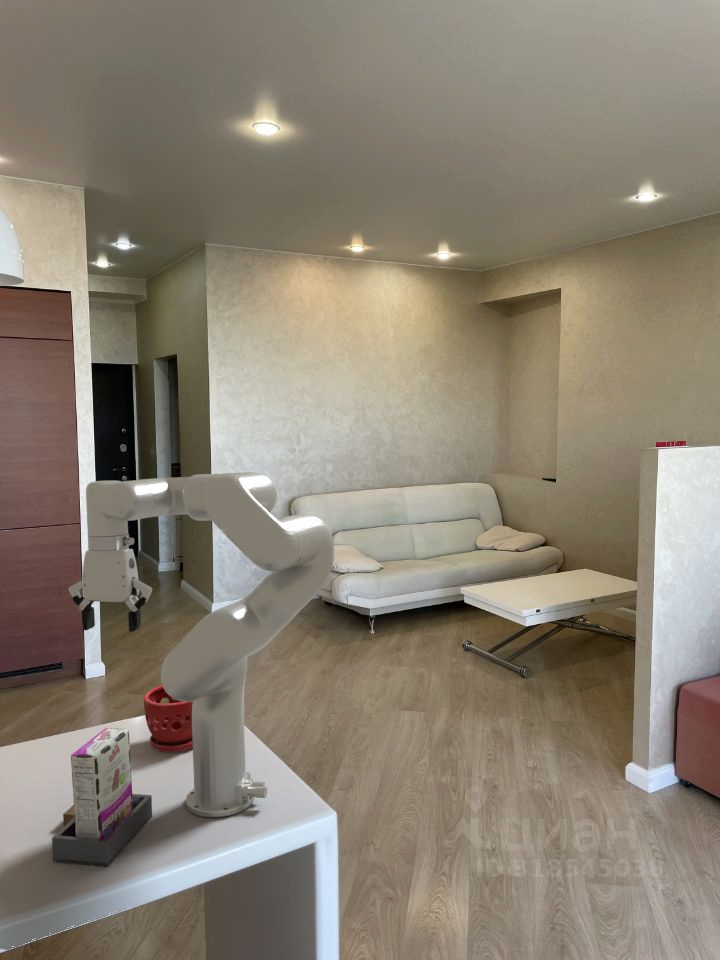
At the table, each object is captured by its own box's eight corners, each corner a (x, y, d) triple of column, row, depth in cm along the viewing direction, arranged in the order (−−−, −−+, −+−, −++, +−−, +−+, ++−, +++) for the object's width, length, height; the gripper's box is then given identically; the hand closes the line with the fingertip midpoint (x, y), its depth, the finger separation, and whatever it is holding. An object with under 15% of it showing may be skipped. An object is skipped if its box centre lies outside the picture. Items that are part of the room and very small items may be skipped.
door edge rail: (119, 785, 145) (118, 773, 145) (74, 828, 130) (73, 815, 129) (109, 785, 146) (109, 772, 146) (63, 828, 130) (63, 814, 130)
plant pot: (144, 737, 169) (143, 685, 168) (203, 729, 173) (202, 679, 172) (146, 761, 156) (144, 705, 156) (209, 752, 160) (207, 698, 159)
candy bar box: (108, 816, 132) (104, 726, 131) (134, 818, 132) (131, 728, 131) (73, 851, 121) (69, 753, 120) (101, 854, 121) (97, 755, 120)
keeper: (152, 816, 133) (151, 795, 133) (108, 866, 118) (107, 842, 118) (102, 813, 135) (102, 791, 135) (53, 861, 120) (52, 837, 119)
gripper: (158, 541, 148) (160, 625, 149) (78, 540, 151) (81, 623, 152) (140, 546, 141) (143, 635, 142) (57, 546, 144) (60, 633, 145)
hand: (111, 629), depth 147 cm, fingers open, 9 cm apart
